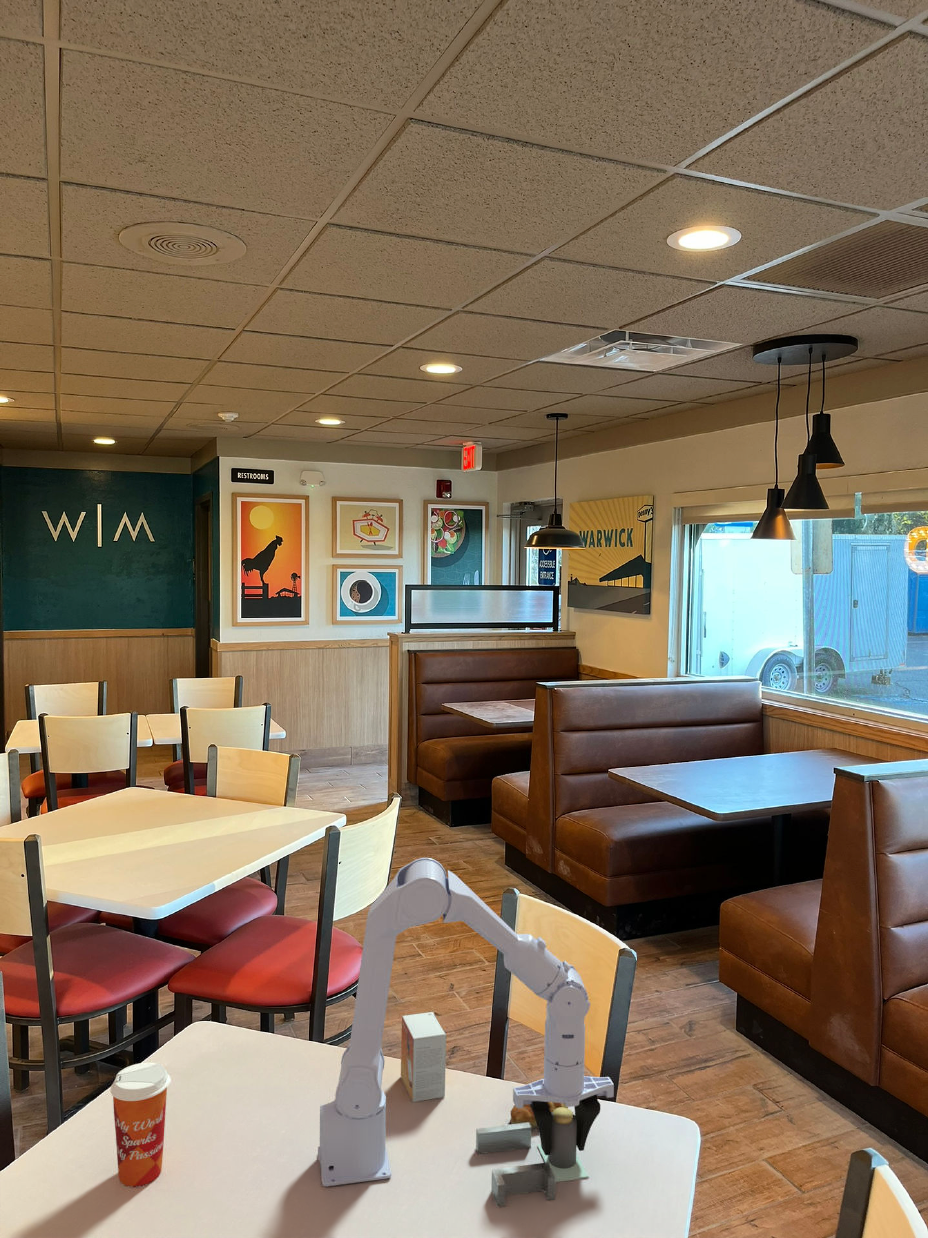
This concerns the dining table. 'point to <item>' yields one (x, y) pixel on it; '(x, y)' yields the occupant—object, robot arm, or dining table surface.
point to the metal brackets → (519, 1176)
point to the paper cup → (140, 1122)
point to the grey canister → (563, 1138)
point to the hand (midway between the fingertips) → (562, 1148)
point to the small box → (423, 1056)
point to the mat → (568, 1173)
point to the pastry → (530, 1114)
